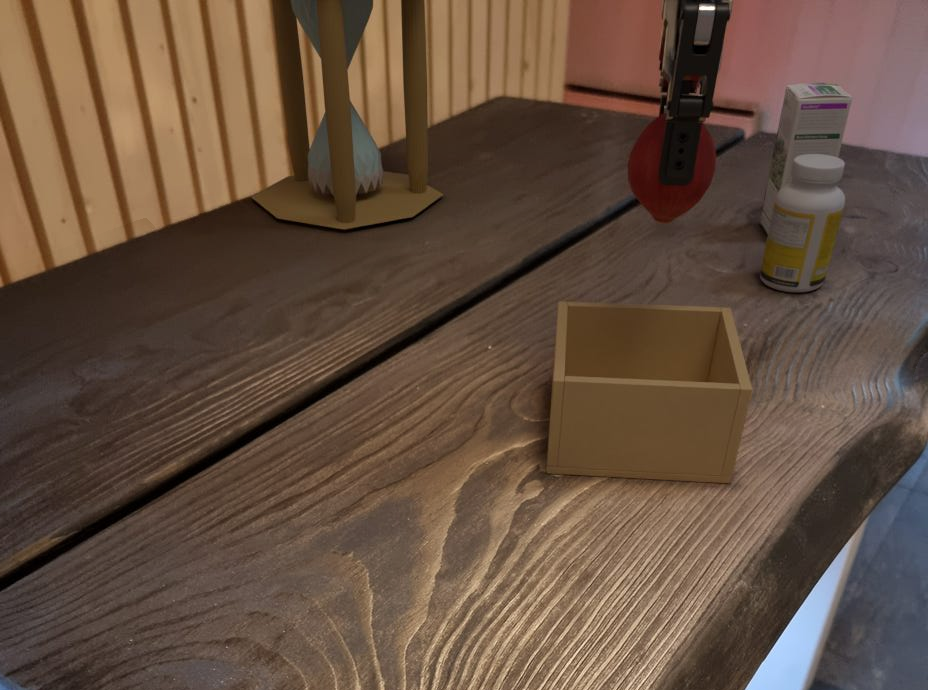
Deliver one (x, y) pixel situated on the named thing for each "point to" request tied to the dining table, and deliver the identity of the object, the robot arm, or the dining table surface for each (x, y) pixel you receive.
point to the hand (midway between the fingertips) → (672, 168)
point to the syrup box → (805, 133)
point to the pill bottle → (804, 225)
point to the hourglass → (347, 122)
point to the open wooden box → (647, 392)
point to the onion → (645, 170)
